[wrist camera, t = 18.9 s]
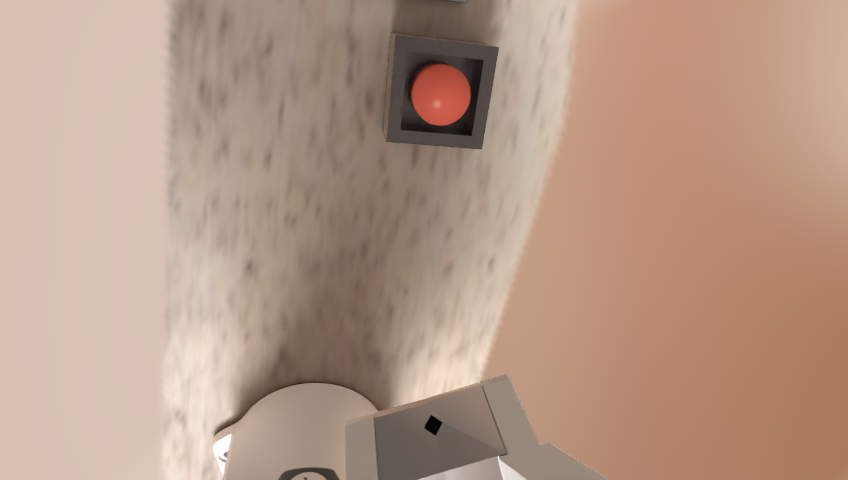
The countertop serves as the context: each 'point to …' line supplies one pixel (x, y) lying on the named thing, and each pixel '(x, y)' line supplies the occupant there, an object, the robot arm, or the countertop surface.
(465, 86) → the button
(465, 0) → the picture board
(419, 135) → the button housing
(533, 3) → the countertop surface
